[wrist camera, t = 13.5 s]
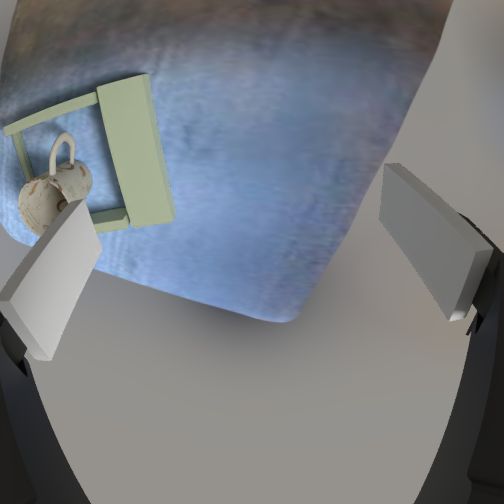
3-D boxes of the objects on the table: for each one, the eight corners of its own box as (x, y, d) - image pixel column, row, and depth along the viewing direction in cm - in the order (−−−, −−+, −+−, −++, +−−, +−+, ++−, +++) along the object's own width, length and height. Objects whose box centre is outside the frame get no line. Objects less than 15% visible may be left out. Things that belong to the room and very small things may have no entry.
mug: (53, 200, 42) (21, 234, 34) (52, 121, 35) (13, 142, 27) (99, 207, 43) (73, 244, 35) (103, 125, 36) (71, 147, 28)
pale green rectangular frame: (13, 119, 33) (-3, 126, 30) (148, 73, 33) (139, 75, 30) (50, 232, 45) (40, 246, 42) (176, 211, 45) (171, 225, 41)
